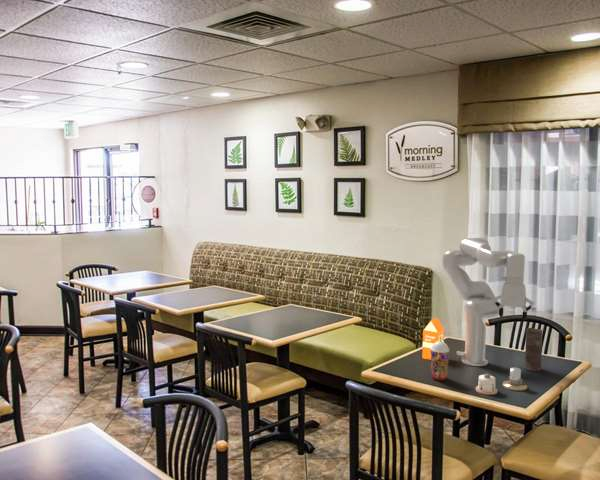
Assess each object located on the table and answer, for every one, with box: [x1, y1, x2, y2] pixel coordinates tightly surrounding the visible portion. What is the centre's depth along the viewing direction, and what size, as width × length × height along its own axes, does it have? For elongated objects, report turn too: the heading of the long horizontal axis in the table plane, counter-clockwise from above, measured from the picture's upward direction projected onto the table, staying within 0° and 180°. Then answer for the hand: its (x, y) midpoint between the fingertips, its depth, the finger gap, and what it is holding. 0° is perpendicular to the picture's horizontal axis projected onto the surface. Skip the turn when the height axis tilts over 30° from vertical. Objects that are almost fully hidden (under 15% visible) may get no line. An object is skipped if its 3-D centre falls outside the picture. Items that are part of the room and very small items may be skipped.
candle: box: [524, 327, 543, 372], centre depth 266 cm, size 8×7×20 cm
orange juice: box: [421, 317, 445, 361], centre depth 283 cm, size 8×9×20 cm
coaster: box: [475, 385, 499, 396], centre depth 239 cm, size 9×9×1 cm
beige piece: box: [502, 366, 528, 392], centre depth 244 cm, size 10×10×8 cm
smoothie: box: [430, 335, 451, 381], centre depth 252 cm, size 8×8×20 cm
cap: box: [477, 373, 497, 392], centre depth 239 cm, size 7×7×6 cm
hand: (512, 318), depth 250 cm, fingers open, 9 cm apart
